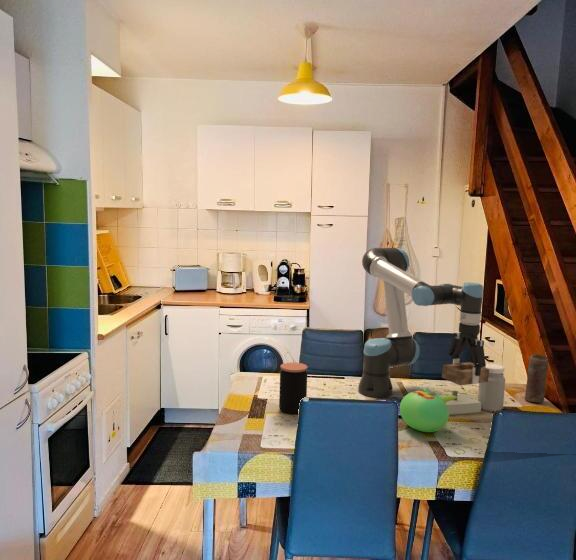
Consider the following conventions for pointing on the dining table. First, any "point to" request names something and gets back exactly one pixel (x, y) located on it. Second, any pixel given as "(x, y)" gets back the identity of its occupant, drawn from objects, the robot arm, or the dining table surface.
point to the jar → (492, 389)
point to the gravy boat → (425, 410)
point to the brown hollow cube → (463, 373)
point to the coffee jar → (292, 387)
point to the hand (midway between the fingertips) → (464, 378)
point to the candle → (536, 378)
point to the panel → (463, 404)
